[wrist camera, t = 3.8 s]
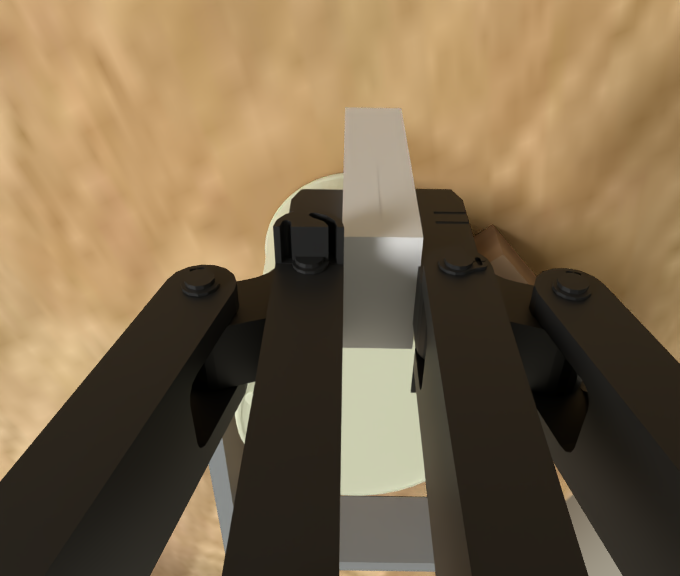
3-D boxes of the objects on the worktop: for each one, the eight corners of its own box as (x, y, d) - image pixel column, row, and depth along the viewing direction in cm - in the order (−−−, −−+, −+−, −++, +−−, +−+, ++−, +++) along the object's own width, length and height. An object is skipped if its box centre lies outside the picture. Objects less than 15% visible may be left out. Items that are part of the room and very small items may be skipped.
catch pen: (238, 502, 46) (228, 568, 42) (213, 337, 36) (197, 402, 33) (458, 505, 46) (469, 572, 42) (492, 341, 36) (509, 406, 32)
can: (293, 146, 29) (266, 309, 20) (474, 202, 31) (531, 378, 21) (247, 295, 35) (208, 481, 25) (404, 336, 36) (423, 525, 27)
